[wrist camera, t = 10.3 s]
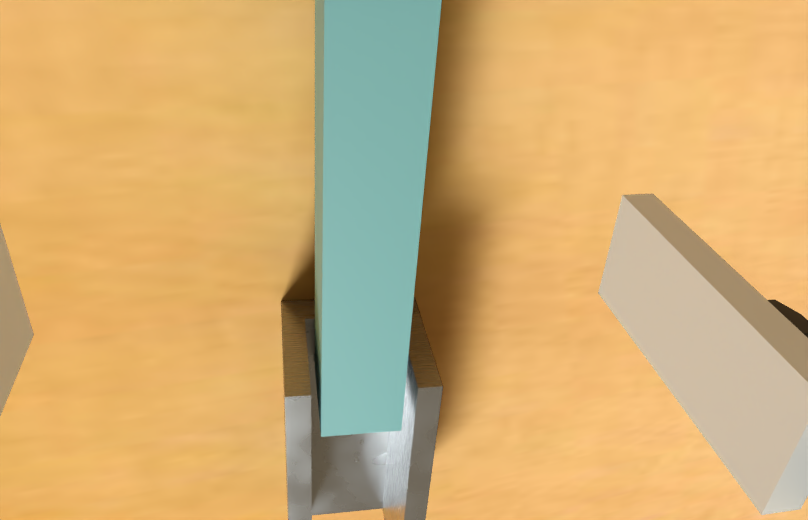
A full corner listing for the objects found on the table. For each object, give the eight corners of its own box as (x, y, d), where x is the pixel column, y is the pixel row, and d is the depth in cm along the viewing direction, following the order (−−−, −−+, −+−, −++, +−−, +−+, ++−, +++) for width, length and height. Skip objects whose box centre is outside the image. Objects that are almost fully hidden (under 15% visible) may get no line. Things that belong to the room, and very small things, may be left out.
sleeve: (287, 496, 46) (290, 602, 40) (280, 301, 37) (284, 397, 31) (396, 486, 47) (416, 587, 41) (414, 295, 39) (443, 386, 33)
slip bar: (314, 369, 38) (321, 436, 34) (315, -196, 24) (325, -200, 20) (386, 364, 39) (401, 430, 34) (426, -187, 25) (459, -188, 21)
